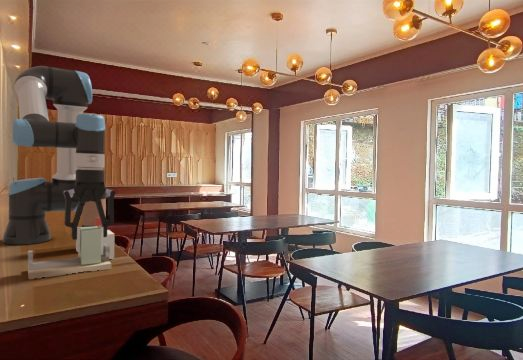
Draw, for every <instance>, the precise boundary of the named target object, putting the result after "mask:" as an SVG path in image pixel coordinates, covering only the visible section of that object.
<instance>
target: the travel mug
mask: <svg viewBox="0 0 523 360" xmlns="http://www.w3.org/2000/svg"><path fill="white" fill-rule="evenodd" d="M106 198H107V196H106V192H105V193H104V194H103V195H102V197H101V198H100V199H101V202H102V207H103V210H104V213H105V217H106V216H107V215H106V213H107V212H106V211H107V204H106V202H107V201H106V200H107V199H106ZM95 217H99V213H98V210H97V207H96V204H95V202H93V201H89V202H85V205H84V207H83V211H82V214H81V227H94V226H95ZM106 218H107V217H106Z"/></svg>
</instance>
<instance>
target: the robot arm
mask: <svg viewBox="0 0 523 360" xmlns="http://www.w3.org/2000/svg"><path fill="white" fill-rule="evenodd" d="M13 84H14V86H13V87H14V92H15V94H16V96H17V97H18V111H19V112H18V115H19V118H16V119H13V120H12V126H11V127H12V131H11V132H12V135H11V136H12V144H14V145H16V146H21V147H28V148H36V147H37V148H39V147H40V148H56V173H55V174H53V175H52V177H51V178H52V179H51V181H47V179H46V178H45V177H36V178H35V177H34V178H25V179H18V180H13V181H11V182H10V183H9V185H8V194H7V196H8V222H7V224H6V227H5V230H4V233H3V235H2V243H3V244H6V245H33V244H39V243H44V242H48V241H49V240H51V236H52V234H51V231H50V227H49V225H48V222H47V221H46V220H47V219H46V213H47V212H48V213H50V212H64V225H65V226H66V227H67V228H71V239H72V240H73V241H75V250H76V252H77V253H78V252H80V228H79V227H80V226H79V224H80V220H81V218H82V211H83V207H84V205H85V202H89V201H93V202H95V204H96V207H97V210H98V213H99V217H100V220H101V223H102V226H99V228H100V229H101V250H102V249H103V237H107V230H108V227H109V226H110V225H113V224H114V223H115V206H114V205H115V203H114V201H115V200H114V199H115V195H116V193H117V192H116V190H113V189H109V188H107V187H106V185H105V173H106V172H105V170H104V168H105V167H106V166H105V164H106V163H105V162H106V161H105V160H106V159H105V154H106V153H105V151H106V149H105V146H106V142H105V141H106V140H105V139H106V128H107V127H106V121H105V117H104V116H103V115H101V114H95V113H84V111H86V110H87V109H88V105H91V104H92V102H93V87H92V81H91V79H90V76H89V75H88V73H86V72H83V71H78V70H76V69H75V70H73V69H68V68H59V67H51V66H46V65H38V66H33V67H29V68H26V69H25V70H23V71H22V72H20V73H19V74H18V75H17V76H16V79H15V81H14V83H13ZM46 100H51V101H53V103H52V105H53V106H54V107H55V108H56V110H57V121H50V119H49V112H48V107H47V102H46ZM105 192H106V197H107V217H105V213H104V210H103V207H102V202H101V199H100V198H101V197H102V195H103V194H104V193H105ZM71 212H75V213H74V216H73V219H72V222H71V216H72V213H71Z"/></svg>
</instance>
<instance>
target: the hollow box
mask: <svg viewBox="0 0 523 360" xmlns="http://www.w3.org/2000/svg"><path fill="white" fill-rule="evenodd" d="M103 244H108V245H109V246H110V257H109V259H112V260H115V232H112V231H111V230H110V229H107V237H103ZM101 255H104V254H103V249H102V250H101Z"/></svg>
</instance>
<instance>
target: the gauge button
mask: <svg viewBox="0 0 523 360" xmlns="http://www.w3.org/2000/svg"><path fill="white" fill-rule="evenodd" d="M95 226H97V227H99V226H102V223H101V220H100V217H95Z"/></svg>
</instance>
